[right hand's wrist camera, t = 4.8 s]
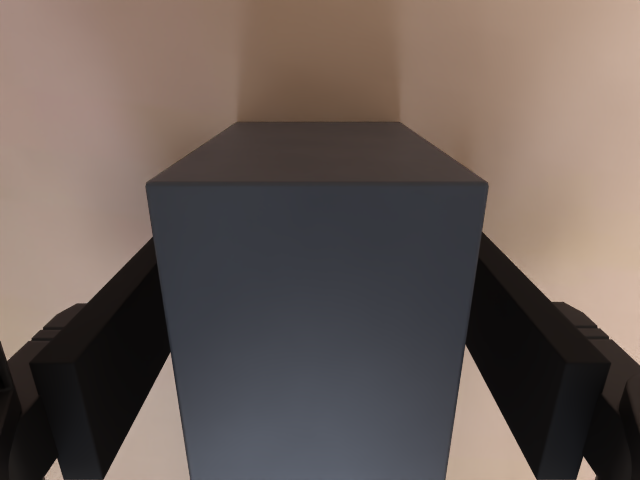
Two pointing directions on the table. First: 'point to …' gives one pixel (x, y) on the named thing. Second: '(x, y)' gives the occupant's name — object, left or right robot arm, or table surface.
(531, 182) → the table surface
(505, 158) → the table surface
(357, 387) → the beam
